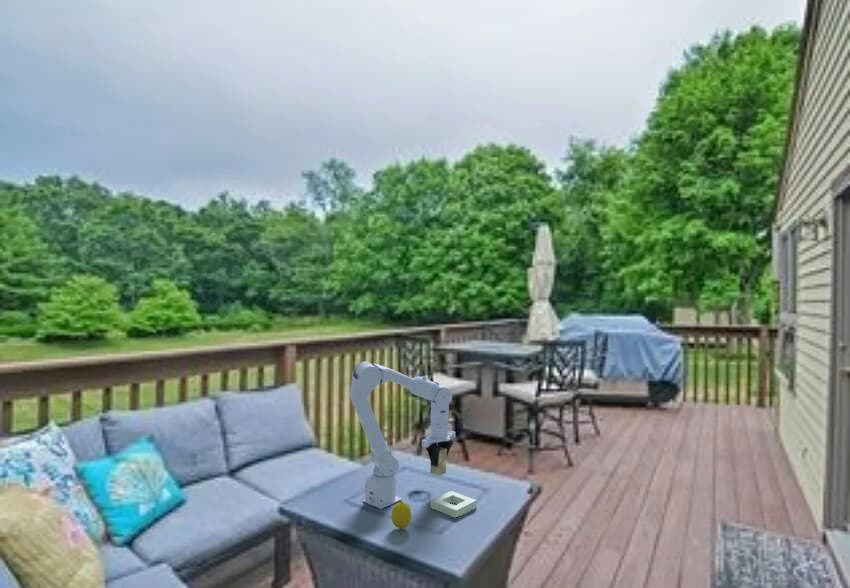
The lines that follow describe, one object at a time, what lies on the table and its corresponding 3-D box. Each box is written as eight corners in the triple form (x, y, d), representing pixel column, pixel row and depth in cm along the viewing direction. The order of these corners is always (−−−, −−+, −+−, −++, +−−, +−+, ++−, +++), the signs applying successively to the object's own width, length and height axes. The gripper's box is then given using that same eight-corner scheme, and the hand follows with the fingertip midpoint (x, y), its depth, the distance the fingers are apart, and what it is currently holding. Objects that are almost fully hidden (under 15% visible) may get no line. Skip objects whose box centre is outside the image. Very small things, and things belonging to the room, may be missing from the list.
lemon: (400, 522, 168) (400, 495, 167) (414, 528, 164) (415, 501, 164) (387, 529, 164) (387, 501, 163) (401, 535, 160) (402, 507, 159)
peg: (438, 475, 186) (439, 451, 185) (430, 472, 188) (430, 448, 187) (446, 472, 188) (446, 448, 188) (437, 469, 191) (438, 446, 190)
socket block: (456, 518, 171) (456, 510, 171) (430, 508, 178) (430, 500, 178) (476, 508, 179) (476, 500, 178) (451, 498, 185) (451, 490, 185)
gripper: (434, 430, 179) (433, 473, 180) (463, 420, 190) (462, 461, 191) (417, 425, 184) (416, 467, 185) (446, 416, 194) (445, 456, 195)
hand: (438, 463), depth 188 cm, fingers closed on peg, 4 cm apart
